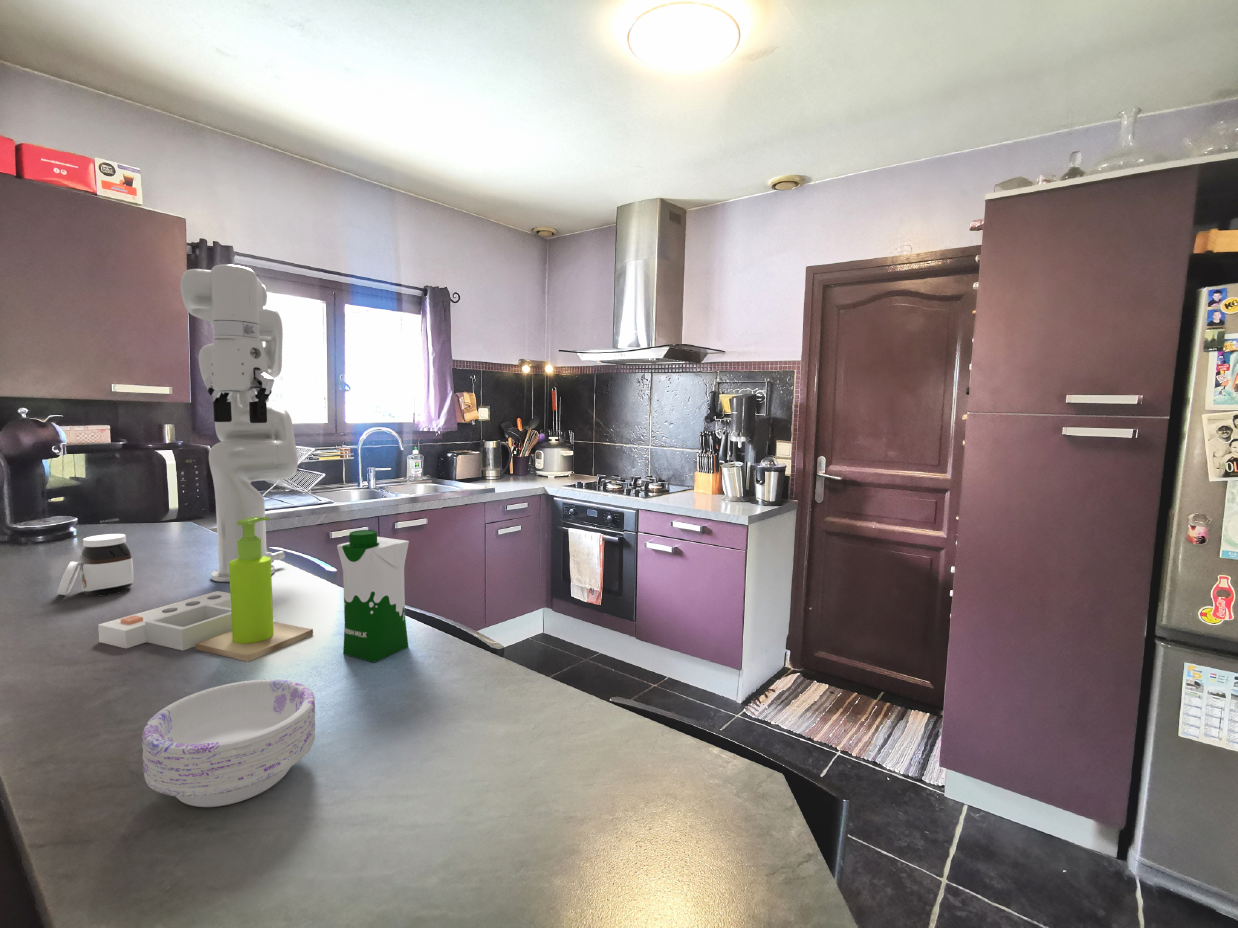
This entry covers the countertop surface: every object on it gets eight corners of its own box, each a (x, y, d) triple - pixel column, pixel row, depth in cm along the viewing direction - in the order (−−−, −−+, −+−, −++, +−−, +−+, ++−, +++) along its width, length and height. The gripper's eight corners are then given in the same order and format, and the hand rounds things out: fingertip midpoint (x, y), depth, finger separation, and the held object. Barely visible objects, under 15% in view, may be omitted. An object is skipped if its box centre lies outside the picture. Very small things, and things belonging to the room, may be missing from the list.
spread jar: (140, 590, 126) (136, 536, 125) (70, 604, 117) (65, 546, 116) (117, 581, 132) (114, 530, 131) (50, 594, 123) (45, 539, 122)
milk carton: (334, 655, 94) (330, 532, 93) (378, 636, 103) (376, 522, 101) (374, 666, 91) (371, 538, 89) (417, 645, 99) (415, 527, 97)
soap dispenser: (285, 628, 103) (281, 515, 101) (257, 644, 96) (252, 522, 94) (253, 627, 103) (249, 514, 102) (223, 642, 96) (218, 521, 95)
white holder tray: (217, 605, 117) (217, 587, 117) (277, 616, 111) (276, 598, 111) (99, 641, 98) (97, 620, 98) (163, 657, 93) (162, 635, 92)
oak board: (263, 624, 107) (263, 619, 107) (313, 634, 103) (312, 629, 103) (195, 649, 96) (195, 643, 96) (248, 661, 92) (247, 655, 92)
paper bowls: (347, 749, 69) (345, 683, 68) (234, 841, 54) (231, 759, 53) (238, 731, 72) (235, 669, 71) (105, 814, 57) (99, 736, 57)
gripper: (287, 334, 114) (290, 423, 115) (224, 336, 120) (228, 421, 122) (250, 328, 107) (254, 423, 108) (186, 332, 113) (190, 421, 115)
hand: (240, 422), depth 115 cm, fingers open, 9 cm apart
